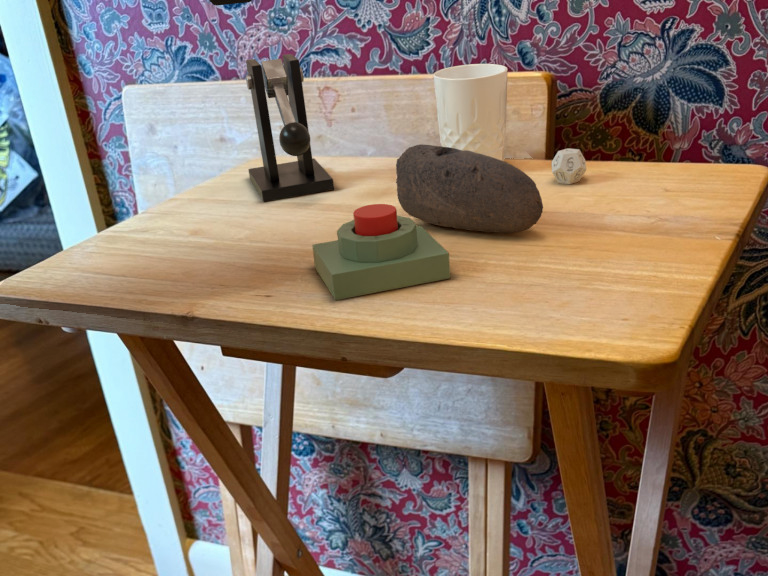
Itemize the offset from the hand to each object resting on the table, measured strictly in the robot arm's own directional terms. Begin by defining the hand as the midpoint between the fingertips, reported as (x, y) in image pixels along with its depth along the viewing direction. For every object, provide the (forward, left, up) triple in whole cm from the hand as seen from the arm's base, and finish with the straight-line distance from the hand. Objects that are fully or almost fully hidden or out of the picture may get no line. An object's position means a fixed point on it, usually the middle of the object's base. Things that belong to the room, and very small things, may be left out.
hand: (231, 2), depth 67 cm
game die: (+33, +11, -21) cm, 41 cm away
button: (+8, -5, -17) cm, 20 cm away
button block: (+8, -5, -21) cm, 23 cm away
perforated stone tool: (+19, +2, -21) cm, 29 cm away
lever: (+6, +24, -14) cm, 28 cm away
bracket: (+6, +27, -21) cm, 34 cm away
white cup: (+26, +21, -21) cm, 40 cm away
